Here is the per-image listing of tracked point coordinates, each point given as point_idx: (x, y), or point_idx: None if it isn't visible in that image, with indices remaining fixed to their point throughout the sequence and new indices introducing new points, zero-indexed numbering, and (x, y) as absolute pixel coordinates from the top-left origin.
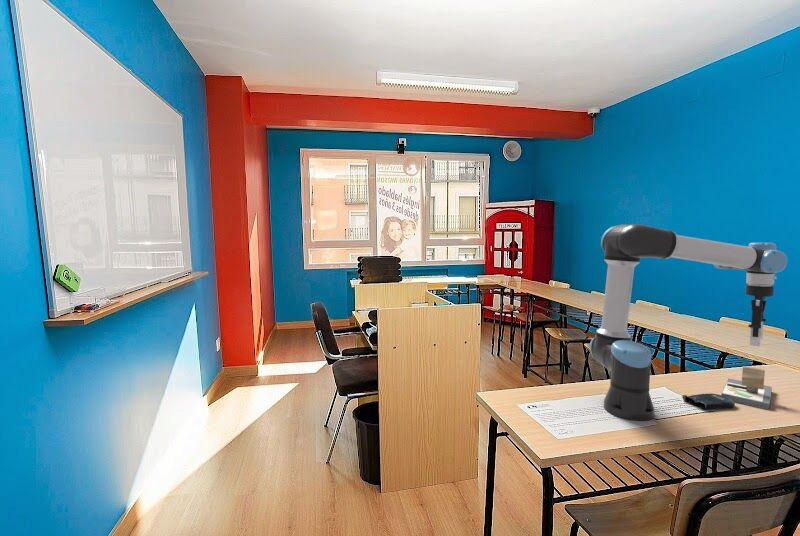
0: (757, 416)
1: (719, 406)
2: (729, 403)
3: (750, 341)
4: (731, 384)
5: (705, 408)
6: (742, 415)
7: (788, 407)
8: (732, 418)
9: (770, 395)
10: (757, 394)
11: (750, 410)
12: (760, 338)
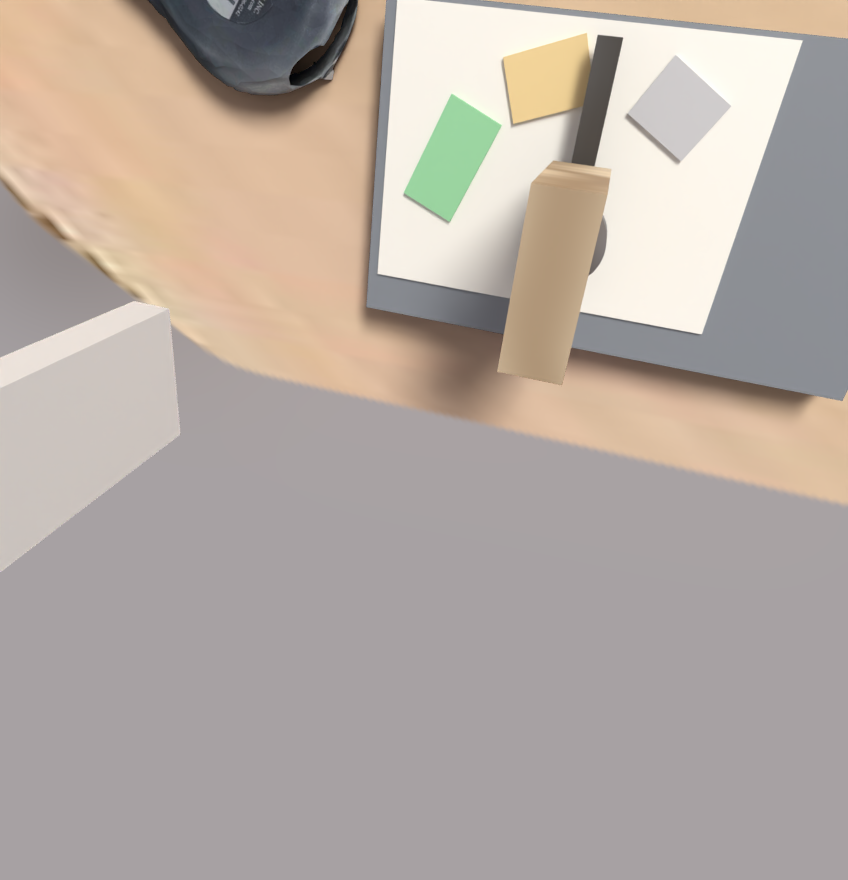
0: (210, 217)
1: None
2: (196, 55)
3: (86, 331)
4: (599, 75)
5: None
6: (160, 135)
7: (500, 406)
8: (65, 74)
9: (574, 347)
10: None
11: (286, 189)
12: (63, 504)
